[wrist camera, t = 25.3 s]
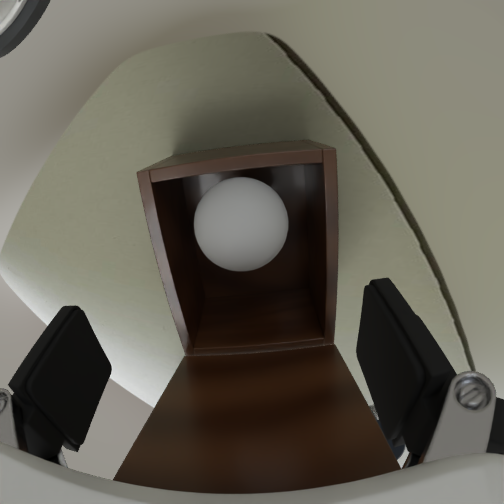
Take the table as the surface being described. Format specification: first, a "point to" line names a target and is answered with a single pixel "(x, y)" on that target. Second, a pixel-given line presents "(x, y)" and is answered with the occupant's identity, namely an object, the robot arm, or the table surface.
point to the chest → (261, 279)
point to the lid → (259, 426)
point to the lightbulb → (241, 224)
